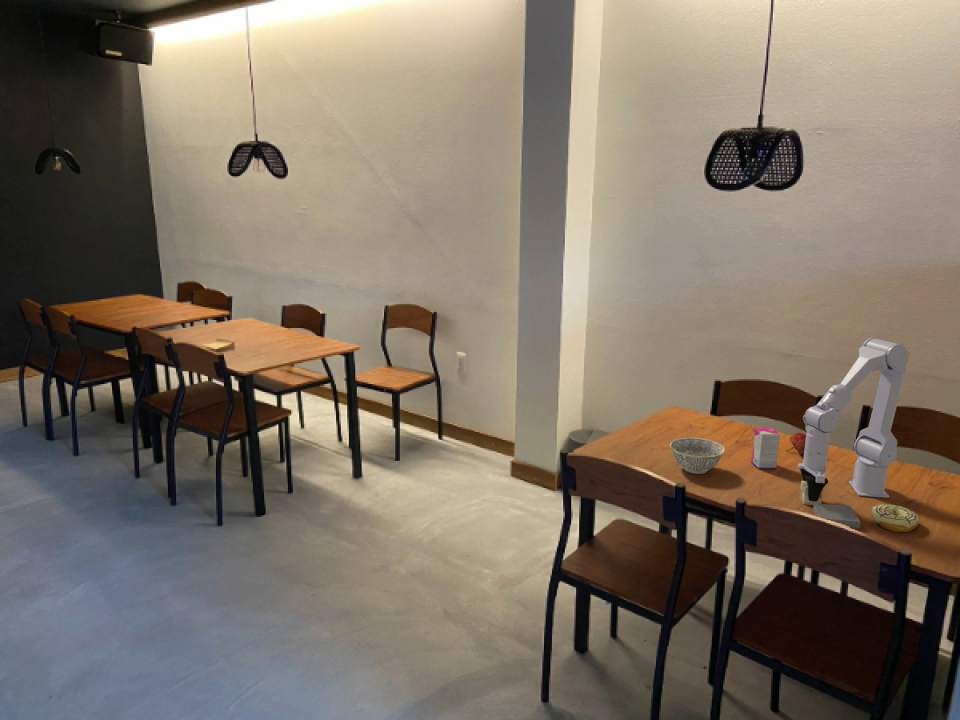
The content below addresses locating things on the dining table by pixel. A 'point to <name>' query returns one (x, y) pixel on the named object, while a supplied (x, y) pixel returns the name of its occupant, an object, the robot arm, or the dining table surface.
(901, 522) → the decorated donut
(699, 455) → the bowl
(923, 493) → the dining table surface
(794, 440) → the red stemmed fruit
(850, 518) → the slate base
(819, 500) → the birch block
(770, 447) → the supplement box
